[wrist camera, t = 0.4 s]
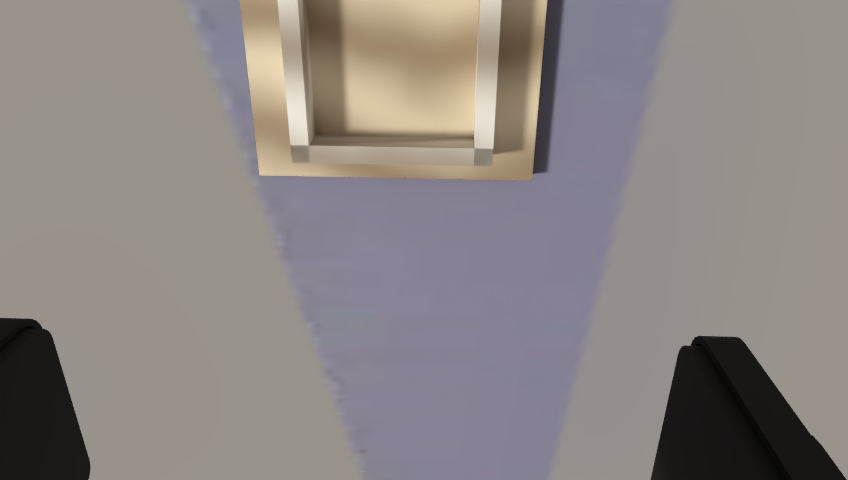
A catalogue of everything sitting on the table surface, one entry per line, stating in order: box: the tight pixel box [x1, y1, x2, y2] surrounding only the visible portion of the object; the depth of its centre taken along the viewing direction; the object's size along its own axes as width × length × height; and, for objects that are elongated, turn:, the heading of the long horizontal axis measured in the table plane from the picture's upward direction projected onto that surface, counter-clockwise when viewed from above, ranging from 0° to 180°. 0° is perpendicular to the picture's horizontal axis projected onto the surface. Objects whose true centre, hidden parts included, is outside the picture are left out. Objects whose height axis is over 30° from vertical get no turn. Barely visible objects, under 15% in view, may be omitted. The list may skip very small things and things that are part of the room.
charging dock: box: [240, 0, 547, 180], centre depth 33 cm, size 16×16×3 cm
